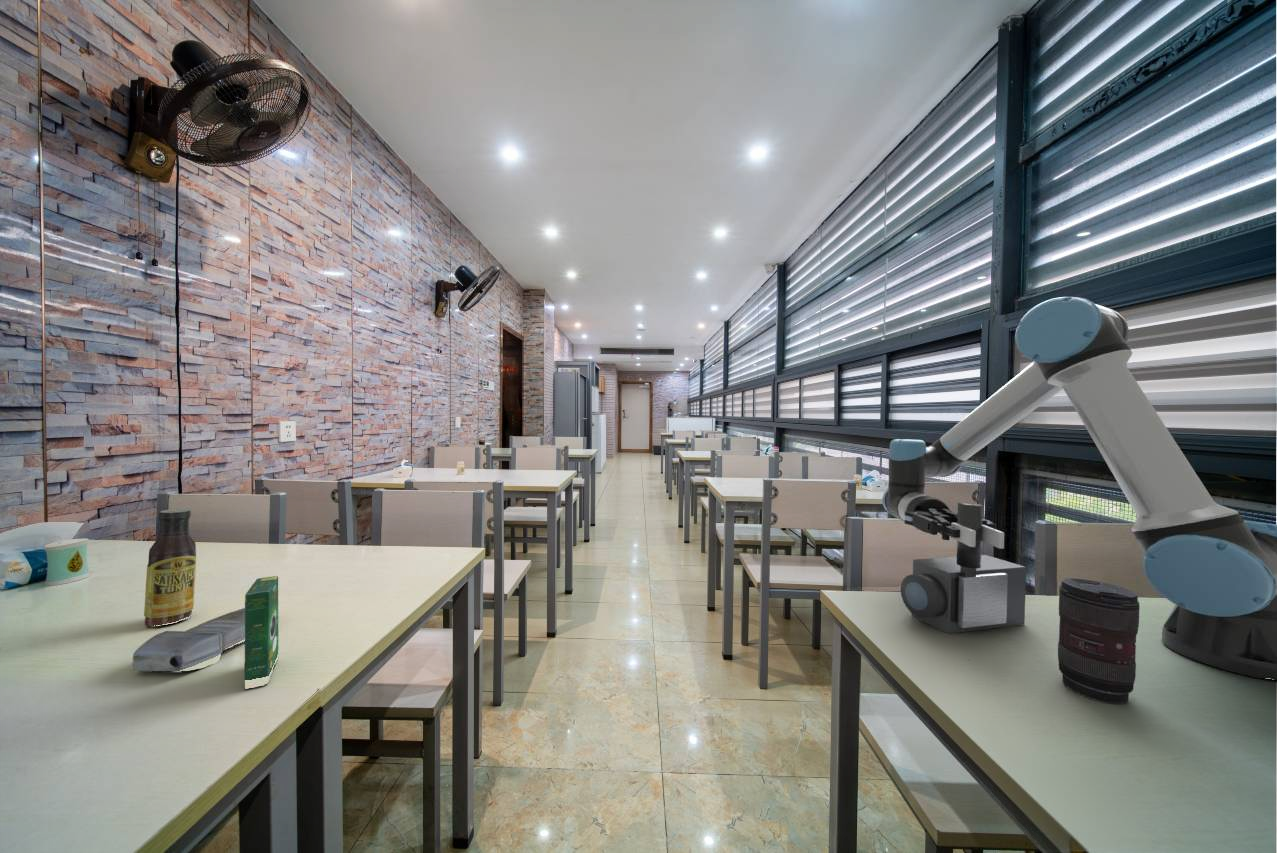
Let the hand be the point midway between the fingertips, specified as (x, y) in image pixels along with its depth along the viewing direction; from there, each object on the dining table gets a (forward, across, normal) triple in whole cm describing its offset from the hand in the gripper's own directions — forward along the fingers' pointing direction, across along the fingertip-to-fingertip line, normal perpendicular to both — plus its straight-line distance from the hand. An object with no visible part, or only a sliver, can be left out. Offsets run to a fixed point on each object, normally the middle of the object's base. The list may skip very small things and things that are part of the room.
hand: (987, 539), depth 77 cm
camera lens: (+10, -9, -19) cm, 23 cm away
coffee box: (+29, +109, -19) cm, 115 cm away
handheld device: (+23, +124, -19) cm, 127 cm away
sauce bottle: (+18, +141, -19) cm, 144 cm away
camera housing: (-12, -2, -18) cm, 22 cm away
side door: (-7, -3, -17) cm, 19 cm away
